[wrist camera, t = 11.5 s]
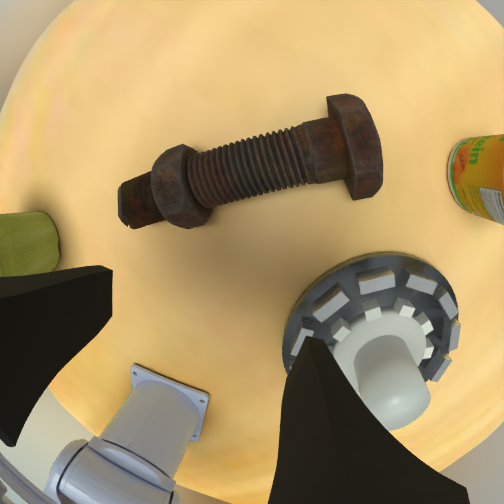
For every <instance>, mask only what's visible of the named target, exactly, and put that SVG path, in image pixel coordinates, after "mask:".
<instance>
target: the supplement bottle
mask: <svg viewBox="0 0 504 504" xmlns="http://www.w3.org/2000/svg"><path fill="white" fill-rule="evenodd" d="M448 181H449V186H450V189H451V192H452V194H453V196H454V198H455V200H456V201H457V203H458V204H459V205H460V206H461V207H462V208H463V209H464V210H466V211H467V212H469V213H472V214H474V215H477V216H480V217H483V218H486V219H489V220H492V221H494V222H497V223H500V224H503V225H504V134H502V135H492V136H482V137H474V138H467V139H464V140H462V141H460V142H459V143H458V144H457V145H456V146H455V147H454V149H453V150H452V152H451V155H450V158H449V162H448Z"/></svg>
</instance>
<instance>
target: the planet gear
mask: <svg viewBox="0 0 504 504" xmlns="http://www.w3.org/2000/svg"><path fill="white" fill-rule="evenodd" d="M361 305H362V309H363V313H361V314H359V315H358V316H356V317H355V318H353V319H352V320H350V321H349V322H348V321H346V320H345V319H343V318H342V317H340V318H339V319H338V320H337V321H336V322H335V323H334V325H333V326H332V327H331V331H332V337H333V338H335V340H334V343H333V346H328V348H329V350H330V351H331V353H332V355H333V356H334V358H335V360H336V361H337V363H338V365H339V366H340V368H341V370H342V371H343V373H344V374H345V376H346V378H347V379H348V381H349V382H350V384H351V385H352V387H353V388H354V390H355V391H356V393H357V394H358V395H359V397H360V398H361V399H362V401H363V402H364V403H365V405H366V406H367V407H368V409H369V410H370V411H371V412H372V414H373V415H374V416H375V417H376V418H377V419H378V420H379V422H380V423H381V424H382V425H383V426H384V427H385V428H386V429H387V430H388V431H391V430H395V429H398V428H401V427H404V426H406V425H408V424H410V423H411V422H413V421H414V420H416V419H417V418H418V417H419V416H420V415H422V413H423V412H424V411H425V410H426V408H427V407H428V405H429V403H430V398H431V396H430V392H429V390H428V388H427V386H426V383H425V381H424V379H423V377H422V375H421V373H420V371H419V369H418V366H419V364H420V363H421V361H422V359H426V358H431V355H432V352H433V349H434V346H433V344H432V343H431V341H430V340H429V338H426V336H425V335H427V334H428V333H429V332H431V331H432V330H433V327H432V325H431V322H430V320H429V319H428V317H427V316H426V315H425V313H424V312H422V313H421V314H419V315H418V316H417V317H414V316H413V313H414V311H415V307H414V306H413V305H412V303H411V302H410V301H409V300H406V299H403V298H399V297H398V298H397V300H396V302H395V304H394V306H393V307H390V306H387V307H380V306H379V304H378V302H377V301H376V299H372V300H369V301H366V302H363V303H361Z"/></svg>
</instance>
